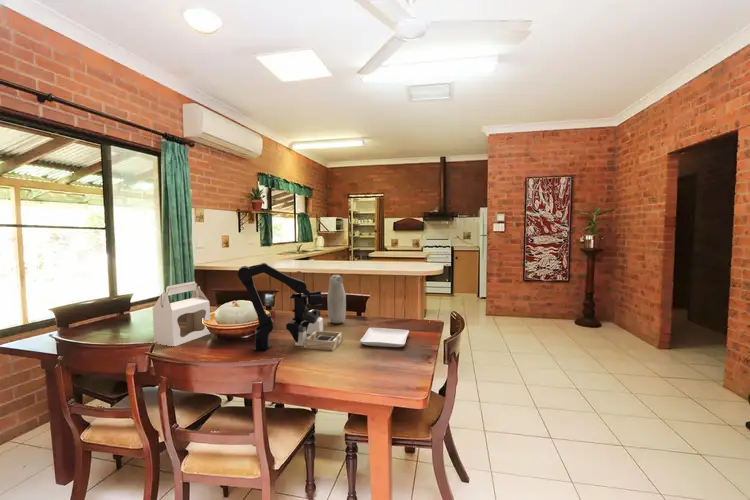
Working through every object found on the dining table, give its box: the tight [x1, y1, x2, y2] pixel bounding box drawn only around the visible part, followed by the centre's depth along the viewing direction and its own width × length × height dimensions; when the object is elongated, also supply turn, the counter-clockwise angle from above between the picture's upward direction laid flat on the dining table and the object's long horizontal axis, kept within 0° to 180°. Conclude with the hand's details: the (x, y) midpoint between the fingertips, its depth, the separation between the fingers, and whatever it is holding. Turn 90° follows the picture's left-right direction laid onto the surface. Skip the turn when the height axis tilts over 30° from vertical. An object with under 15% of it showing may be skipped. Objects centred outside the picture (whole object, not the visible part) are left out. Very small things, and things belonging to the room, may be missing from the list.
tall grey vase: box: [327, 274, 347, 325], centre depth 200 cm, size 10×10×28 cm
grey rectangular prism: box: [294, 327, 307, 347], centre depth 166 cm, size 4×4×8 cm
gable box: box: [152, 280, 211, 347], centre depth 175 cm, size 22×13×28 cm, turn 158°
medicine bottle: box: [306, 308, 324, 335], centre depth 184 cm, size 7×7×12 cm
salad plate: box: [359, 327, 410, 348], centre depth 170 cm, size 21×21×3 cm
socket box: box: [304, 330, 343, 351], centre depth 166 cm, size 14×14×4 cm
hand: (300, 338), depth 166 cm, fingers open, 9 cm apart
